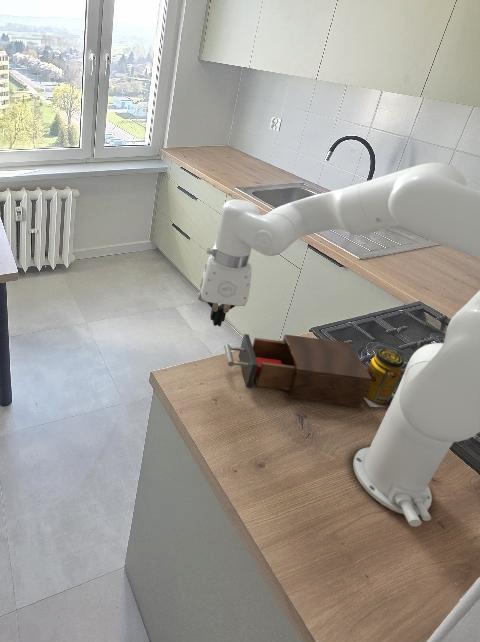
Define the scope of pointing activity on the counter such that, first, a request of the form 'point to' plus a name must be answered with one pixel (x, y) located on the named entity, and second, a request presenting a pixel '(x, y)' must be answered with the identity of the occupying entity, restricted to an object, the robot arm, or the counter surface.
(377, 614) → the counter surface
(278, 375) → the drawer
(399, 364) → the condiment
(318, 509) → the counter surface
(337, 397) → the cabinet
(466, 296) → the counter surface
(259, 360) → the red rectangular block
